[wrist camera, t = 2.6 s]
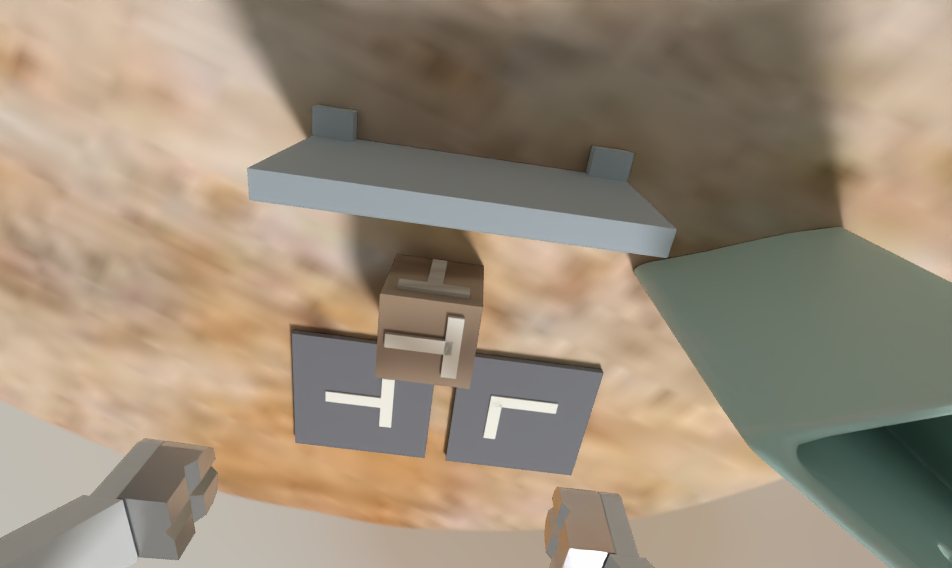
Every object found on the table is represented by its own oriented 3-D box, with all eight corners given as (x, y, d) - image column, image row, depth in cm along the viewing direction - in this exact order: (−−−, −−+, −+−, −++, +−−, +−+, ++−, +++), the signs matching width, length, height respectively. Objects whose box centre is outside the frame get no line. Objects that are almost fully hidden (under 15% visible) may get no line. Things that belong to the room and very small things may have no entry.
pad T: (294, 329, 30) (291, 334, 29) (438, 348, 30) (437, 353, 30) (297, 438, 34) (295, 443, 33) (425, 453, 34) (424, 459, 34)
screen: (317, 104, 24) (244, 128, 17) (630, 151, 25) (689, 192, 17) (317, 183, 26) (252, 234, 19) (610, 224, 26) (656, 290, 19)
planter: (942, 293, 28) (1736, 720, 10) (835, 388, 31) (1299, 841, 13) (725, 151, 25) (1340, 415, 7) (630, 272, 28) (885, 671, 10)
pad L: (462, 351, 30) (461, 356, 30) (601, 369, 31) (603, 374, 30) (446, 456, 34) (445, 461, 34) (570, 470, 35) (571, 476, 34)
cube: (397, 250, 27) (379, 291, 23) (484, 262, 28) (483, 305, 23) (391, 327, 30) (374, 379, 25) (472, 338, 30) (469, 391, 25)
